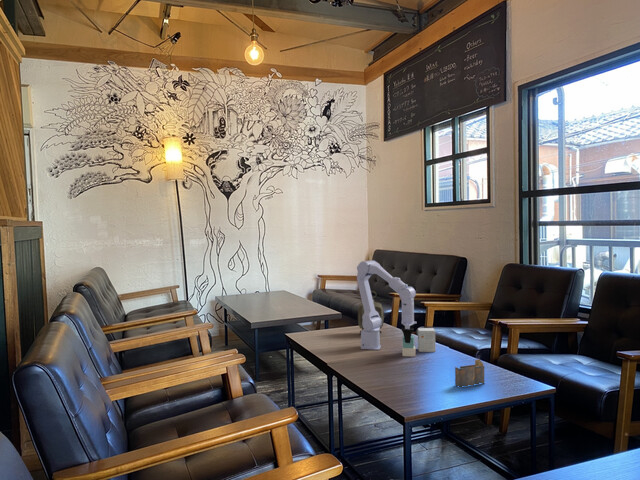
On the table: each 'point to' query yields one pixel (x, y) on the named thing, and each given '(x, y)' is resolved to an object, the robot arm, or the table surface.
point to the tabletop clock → (377, 307)
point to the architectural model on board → (469, 374)
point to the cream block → (409, 351)
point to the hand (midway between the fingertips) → (407, 340)
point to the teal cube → (408, 345)
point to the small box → (426, 340)
